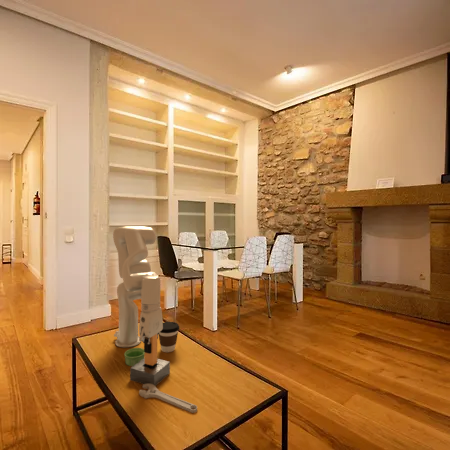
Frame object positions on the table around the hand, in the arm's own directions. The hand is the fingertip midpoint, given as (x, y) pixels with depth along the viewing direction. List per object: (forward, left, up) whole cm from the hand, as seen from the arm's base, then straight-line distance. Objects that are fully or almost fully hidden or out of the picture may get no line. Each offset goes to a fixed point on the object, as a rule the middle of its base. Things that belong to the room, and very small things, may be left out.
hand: (150, 350), depth 117 cm
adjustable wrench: (+14, -10, -12) cm, 21 cm away
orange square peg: (0, 0, -5) cm, 5 cm away
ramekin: (-14, +7, -11) cm, 19 cm away
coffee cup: (-7, +23, -11) cm, 27 cm away
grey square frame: (0, 0, -11) cm, 11 cm away
